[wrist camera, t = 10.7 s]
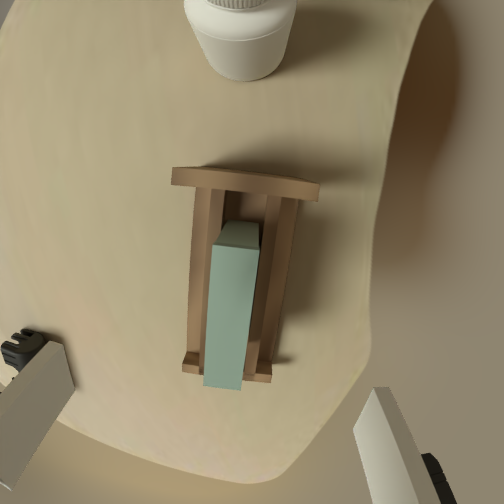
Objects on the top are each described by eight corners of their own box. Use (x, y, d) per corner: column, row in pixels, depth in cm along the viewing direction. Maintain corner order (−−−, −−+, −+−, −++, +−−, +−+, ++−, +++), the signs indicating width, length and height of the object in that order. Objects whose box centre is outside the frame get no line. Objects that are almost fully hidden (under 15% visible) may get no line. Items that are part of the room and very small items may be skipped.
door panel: (217, 327, 33) (203, 385, 23) (227, 218, 30) (212, 244, 20) (245, 331, 33) (240, 390, 23) (259, 222, 30) (259, 250, 20)
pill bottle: (300, 61, 26) (331, -14, 12) (230, 96, 27) (205, 38, 13) (259, 7, 24) (259, -82, 10) (193, 40, 26) (147, -36, 11)
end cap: (68, 385, 39) (49, 411, 32) (37, 375, 39) (17, 398, 32) (53, 333, 36) (28, 357, 29) (21, 324, 36) (-4, 345, 29)
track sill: (188, 354, 35) (168, 410, 26) (200, 166, 29) (172, 167, 20) (269, 364, 36) (272, 424, 26) (300, 178, 29) (320, 184, 20)
